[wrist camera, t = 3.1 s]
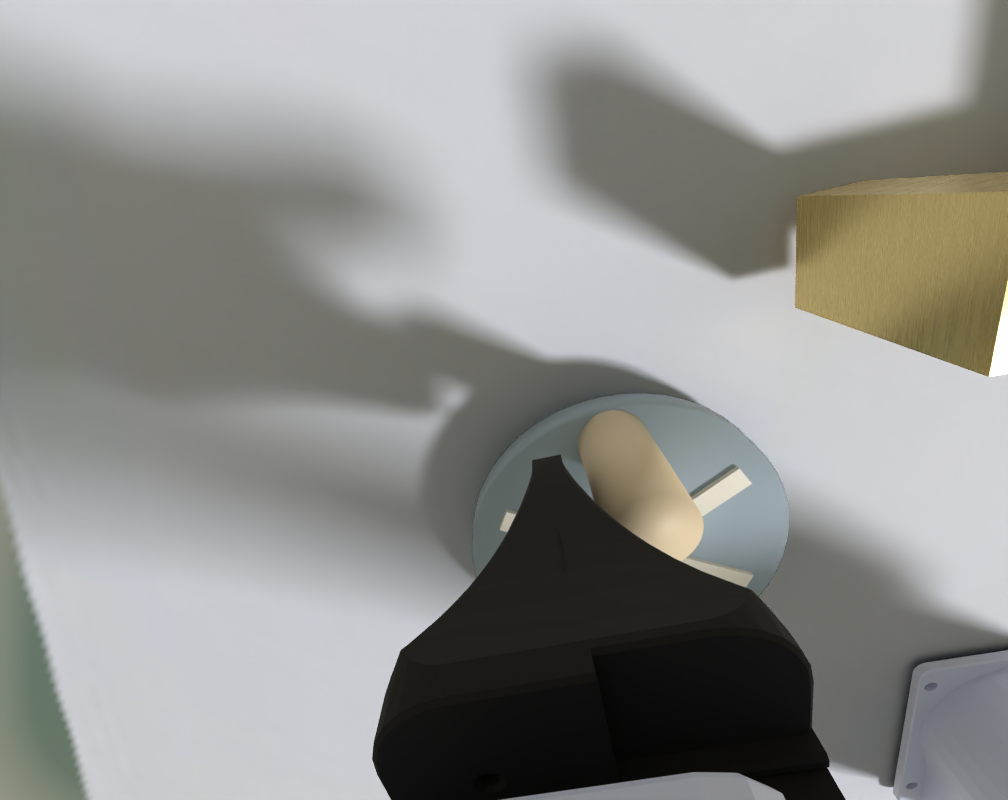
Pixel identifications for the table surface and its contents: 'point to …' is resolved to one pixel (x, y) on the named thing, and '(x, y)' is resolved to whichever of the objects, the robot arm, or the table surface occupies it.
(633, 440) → the handwheel
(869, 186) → the hook rod
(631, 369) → the table surface
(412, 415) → the table surface
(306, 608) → the table surface
